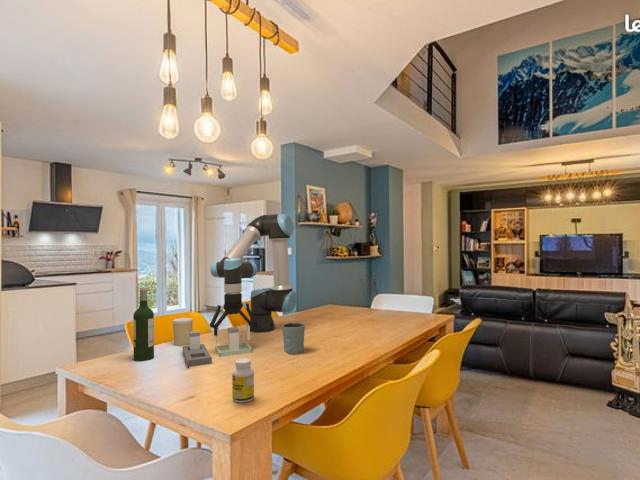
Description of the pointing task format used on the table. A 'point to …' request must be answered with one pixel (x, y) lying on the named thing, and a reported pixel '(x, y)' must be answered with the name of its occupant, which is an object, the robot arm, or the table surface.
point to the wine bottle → (143, 329)
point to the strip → (196, 356)
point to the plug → (233, 339)
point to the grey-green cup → (293, 338)
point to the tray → (243, 349)
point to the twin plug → (194, 340)
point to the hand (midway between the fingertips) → (233, 341)
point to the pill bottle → (243, 381)
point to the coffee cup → (182, 331)
